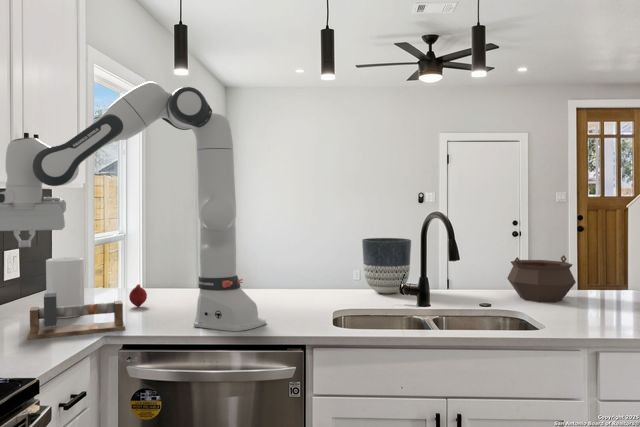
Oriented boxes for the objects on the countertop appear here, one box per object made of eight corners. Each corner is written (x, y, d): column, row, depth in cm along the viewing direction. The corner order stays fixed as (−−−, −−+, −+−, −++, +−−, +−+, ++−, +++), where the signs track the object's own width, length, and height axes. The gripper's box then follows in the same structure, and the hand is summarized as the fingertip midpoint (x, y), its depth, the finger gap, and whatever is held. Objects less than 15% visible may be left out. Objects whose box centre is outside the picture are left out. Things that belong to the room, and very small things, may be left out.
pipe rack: (122, 324, 166) (122, 299, 165) (125, 329, 158) (124, 304, 158) (29, 332, 155) (29, 306, 155) (27, 339, 148) (27, 311, 148)
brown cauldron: (536, 307, 190) (536, 260, 190) (493, 295, 213) (494, 253, 213) (590, 302, 198) (591, 257, 197) (544, 292, 220) (544, 251, 220)
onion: (141, 308, 189) (141, 285, 189) (126, 308, 190) (125, 285, 190) (149, 305, 194) (149, 283, 194) (135, 305, 196) (134, 282, 195)
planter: (409, 289, 228) (409, 238, 228) (412, 297, 209) (412, 241, 208) (362, 288, 230) (362, 237, 230) (361, 296, 211) (361, 241, 210)
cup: (91, 312, 183) (91, 257, 182) (68, 319, 172) (67, 261, 172) (63, 310, 186) (62, 256, 185) (38, 317, 175) (37, 260, 174)
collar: (56, 321, 157) (56, 292, 157) (56, 325, 152) (55, 296, 151) (45, 322, 156) (44, 293, 156) (44, 326, 150) (43, 297, 150)
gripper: (66, 197, 158) (66, 245, 158) (-17, 196, 149) (-17, 247, 149) (65, 197, 152) (66, 246, 152) (-21, 196, 143) (-20, 249, 144)
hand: (24, 247), depth 151 cm, fingers closed
